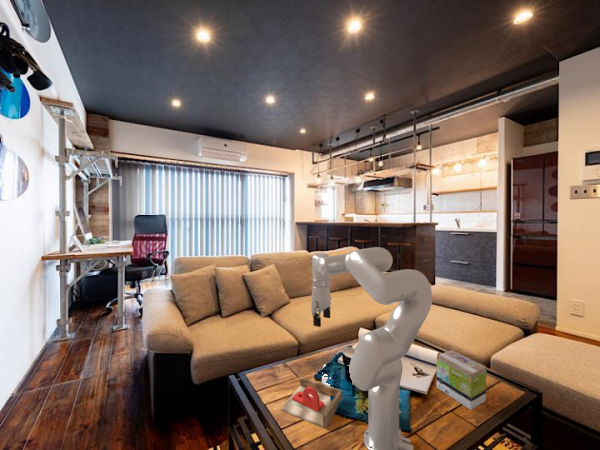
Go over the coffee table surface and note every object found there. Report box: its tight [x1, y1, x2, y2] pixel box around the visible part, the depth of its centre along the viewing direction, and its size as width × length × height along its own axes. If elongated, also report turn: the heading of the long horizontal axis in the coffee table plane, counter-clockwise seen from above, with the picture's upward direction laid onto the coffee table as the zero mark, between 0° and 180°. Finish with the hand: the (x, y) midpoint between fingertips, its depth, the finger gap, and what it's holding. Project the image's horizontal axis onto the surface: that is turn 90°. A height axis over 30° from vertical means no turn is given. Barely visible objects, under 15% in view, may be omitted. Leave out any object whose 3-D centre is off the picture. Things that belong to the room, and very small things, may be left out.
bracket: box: [292, 387, 324, 412], centre depth 109 cm, size 12×4×8 cm, turn 55°
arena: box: [280, 376, 343, 430], centre depth 109 cm, size 19×16×4 cm
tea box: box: [436, 349, 488, 411], centre depth 113 cm, size 15×10×15 cm, turn 27°
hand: (322, 321), depth 119 cm, fingers open, 9 cm apart
